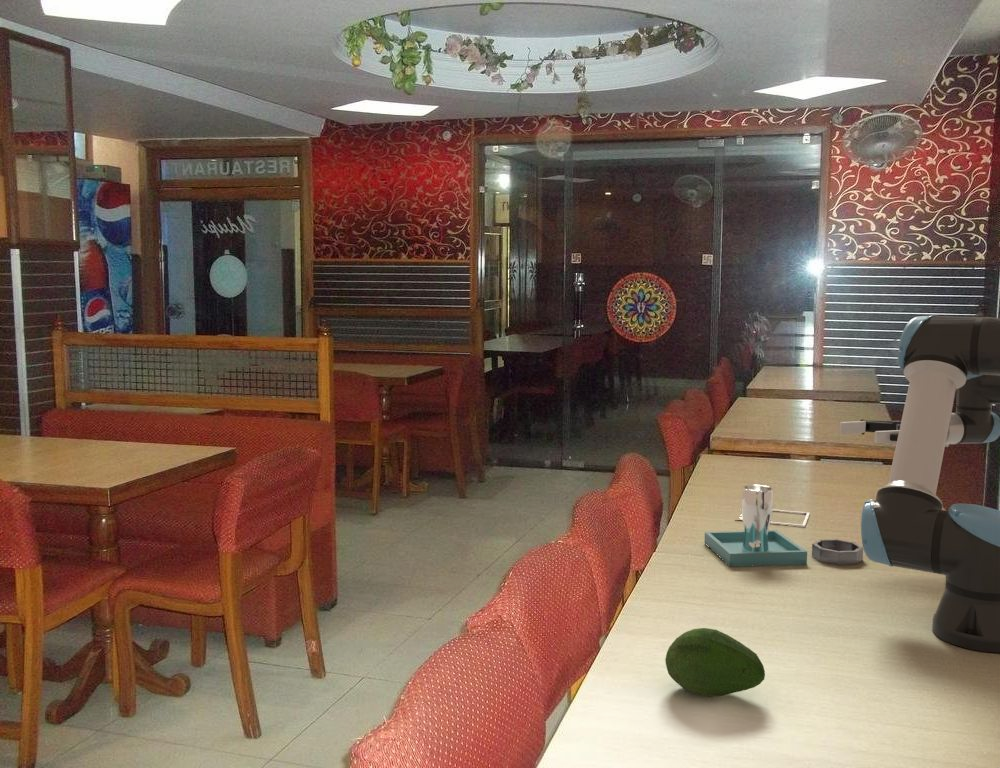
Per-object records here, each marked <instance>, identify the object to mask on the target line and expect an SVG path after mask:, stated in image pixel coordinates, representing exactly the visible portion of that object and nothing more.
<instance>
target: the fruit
mask: <svg viewBox="0 0 1000 768" xmlns="http://www.w3.org/2000/svg"><path fill="white" fill-rule="evenodd" d="M664 661H665V666H666V670H667V673H668V675H669V676H670V678H671V679H672V680H673V681H674V682H675V683H676V684H677V685H679V687H681V688H682V689H683V690H684V691H688V692H690V693H692V694H696V695H701V696H707V697H721V696H726V695H732V694H735V693H738V692H743V691H746V690H749V689H753V688H755V687H758V686H759V685H761V683H763V682H764V680H765V677H766V671H765V667H764V664H763V663H762V661H761V659H760V658H759V656H758V654H757V653H756V652H754V651H753V650H752V649H751V648H749V647H748V646H746V645H745V644H743V643H742V642H740V641H738V640H737V639H735V638H734V637H732V636H730V635H728V634H726V633H724V632H722V631H720V630H718V629H714V628H708V627H700V628H692V629H690V630H687V631H685V632H683V633H682V634H680V635H679V636H678V637H676V638H675V639H674V641H673V642H672V643H671V644H670V646H669V647H668V650H667V651H666V655H665V660H664Z"/></svg>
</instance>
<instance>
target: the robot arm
mask: <svg viewBox="0 0 1000 768" xmlns="http://www.w3.org/2000/svg"><path fill="white" fill-rule="evenodd" d="M899 339H900V340H899V343H898V351H897V352H898V353H897V364H898V366H899V368H900V370H902V371H903V375H904V377H905V379H906V380H907V381H908V382H909V383H908V389H907V393H906V397H905V402H904V406H903V410H902V416H901V419H900V420H882V419H881V420H878V419H860V421H859V420H856V421H839V429H838V431H839V433H838V434H841V435H844V434H848V435H849V434H861V435H862V436H863V435H865V433H866V432H867V433H874V444H896V445H895V449H894V453H893V458H892V464H891V467H890V472H889V478H888V483H887V484H886V485H884V486H882V487H880V488H879V489H878V490H877V492H876V497H875V500H874V499H872V498H871V499H866V500H865V502H864V503H863V505H862V509H861V517H860V533H861V534H860V535H861V543H862V547H863V553H864V555H865V556H866V557H867V558H868V560H869V561H871V562H873V563H876V564H877V563H878V564H882V565H887V566H888V567H891V568H893V567H896V568H904V569H909V570H914V571H921V572H926V573H932V574H938V575H943V576H945V584H944V585H945V586H944V592H943V594H942V596H941V598H940V601H939V603H938V606H937V608H936V611H935V612H934V614H933V616H932V627H931V631H932V633H933V634H934V635H935V636H936V637H938V638H939V639H940V640H942V641H945V642H946V643H949V644H952V645H955V646H957V647H960V648H965V649H969V650H974V651H979V652H985V653H1000V510H998V509H995V508H992V507H988V506H983V505H979V504H974V503H973V504H972V503H969V504H968V503H965V502H962V503H961V502H960V503H954V504H951V505H950V507H949V508H948V510H945V509H943V501H942V500H941V499H940V498H939V496H937V489H938V485H939V484H938V483H939V481H940V474H941V468H942V463H943V460H944V459H943V458H944V452H945V448H949V446H950V445H966V444H967V445H970V444H975V445H980V444H986V443H992V442H994V441H996V440H997V439H998V438H999V437H1000V417H999V415H998V414H997V413H995V412H993V411H992V405H993V404H996V405H1000V317H994V316H993V317H992V316H981V317H980V316H941V315H937V314H931V315H919V316H918V315H917V316H915V317H913V318H911V319H910V320H909V321H908V322H907V323H906V325H905V327H904V328H903V329H902V334H901V336H900V338H899ZM955 396H956V405H955V412H952V411H953V408H954V401H955Z"/></svg>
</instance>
